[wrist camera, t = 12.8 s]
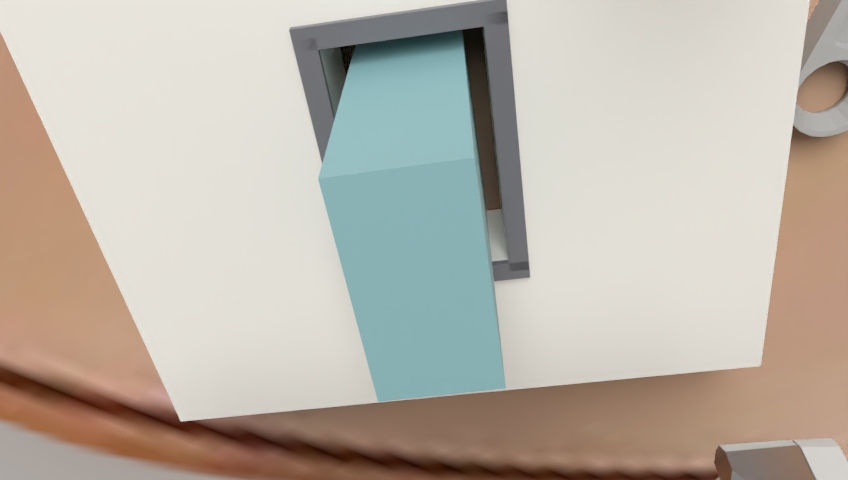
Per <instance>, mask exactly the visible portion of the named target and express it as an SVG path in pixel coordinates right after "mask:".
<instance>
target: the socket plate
mask: <svg viewBox="0 0 848 480" xmlns="http://www.w3.org/2000/svg"><path fill="white" fill-rule="evenodd" d="M809 3H810V0H0V32H1V34H2V36H3V38H4V40H5V43H6V45H7V47H8V49H9V51H10V53H11V56H12V58H13V60H14V62H15V64H16V66H17V69H18V71H19V73H20V75H21V77H22V79H23V81H24V84H25V86H26V88H27V90H28V92H29V94H30V97H31V99H32V101H33V103H34V105H35V107H36V110H37V112H38V114H39V116H40V118H41V120H42V123H43V125H44V127H45V129H46V131H47V133H48V135H49V138H50V140H51V142H52V144H53V146H54V148H55V151H56V153H57V155H58V157H59V159H60V161H61V164H62V166H63V168H64V170H65V172H66V174H67V177H68V179H69V181H70V183H71V185H72V187H73V190H74V192H75V194H76V196H77V198H78V200H79V202H80V205H81V207H82V209H83V211H84V213H85V215H86V218H87V220H88V222H89V224H90V226H91V228H92V231H93V233H94V235H95V237H96V239H97V241H98V244H99V246H100V248H101V250H102V252H103V254H104V256H105V259H106V261H107V263H108V265H109V267H110V269H111V272H112V274H113V276H114V278H115V280H116V282H117V285H118V287H119V289H120V291H121V293H122V295H123V298H124V300H125V302H126V304H127V306H128V308H129V311H130V313H131V315H132V317H133V319H134V321H135V323H136V326H137V328H138V330H139V332H140V334H141V336H142V339H143V341H144V343H145V345H146V347H147V349H148V352H149V354H150V356H151V358H152V360H153V362H154V365H155V367H156V369H157V371H158V373H159V375H160V377H161V380H162V382H163V384H164V386H165V388H166V390H167V393H168V395H169V397H170V399H171V401H172V403H173V406H174V408H175V410H176V412H177V414H178V416H179V419H180V421H191V420H201V419H212V418H222V417H232V416H243V415H253V414H264V413H274V412H285V411H295V410H306V409H316V408H327V407H337V406H348V405H358V404H369V403H379V402H378V400H377V396H376V392H375V388H374V385H373V381H372V377H371V374H370V370H369V366H368V362H367V359H366V355H365V351H364V348H363V344H362V340H361V336H360V333H359V329H358V325H357V322H356V318H355V314H354V310H353V307H352V303H351V299H350V296H349V292H348V288H347V284H346V281H345V277H344V273H343V270H342V266H341V262H340V258H339V255H338V251H337V247H336V244H335V240H334V236H333V232H332V229H331V225H330V221H329V218H328V214H327V210H326V206H325V203H324V199H323V195H322V192H321V188H320V184H319V180H318V177H319V174H320V170H321V166H322V163H323V159H324V156H325V152H326V148H327V145H328V141H329V138H330V134H331V130H332V127H333V123H334V120H335V116H336V112H337V109H338V105H339V102H340V98H341V95H342V91H343V87H344V84H345V80H346V72H345V68H344V63H343V58H342V53H341V49H340V47H342V46H349V45H356V44H363V43H370V42H378V41H385V40H392V39H399V38H406V37H413V36H420V35H427V34H434V33H441V32H448V31H456V30H463V29H470V28H477V27H482V34H483V43H484V53H485V62H486V72H487V81H488V91H489V100H490V110H491V119H492V129H493V138H494V148H495V157H496V167H497V176H498V186H499V195H500V205H501V209H495V210H486V213H487V222H488V231H489V240H490V249H491V258H492V268H493V277H494V286H495V295H496V304H497V313H498V322H499V331H500V340H501V349H502V358H503V368H504V377H505V386H506V388H505V389H496V390H486V391H477V392H467V393H458V394H448V395H439V396H429V397H420V398H410V399H421V398H431V397H442V396H452V395H463V394H473V393H484V392H494V391H505V390H515V389H526V388H536V387H546V386H557V385H567V384H578V383H588V382H599V381H609V380H620V379H630V378H641V377H651V376H662V375H672V374H683V373H693V372H703V371H714V370H724V369H735V368H745V367H756V366H761V359H762V352H763V345H764V337H765V330H766V322H767V315H768V307H769V300H770V293H771V285H772V278H773V270H774V263H775V255H776V248H777V241H778V233H779V226H780V218H781V211H782V203H783V196H784V189H785V181H786V174H787V166H788V159H789V151H790V144H791V137H792V129H793V122H794V114H795V107H796V99H797V92H798V85H799V77H800V70H801V62H802V55H803V47H804V40H805V33H806V25H807V18H808V10H809ZM410 399H400V400H410ZM400 400H391V401H400ZM381 402H389V401H381Z"/></svg>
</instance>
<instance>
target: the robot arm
mask: <svg viewBox="0 0 848 480" xmlns="http://www.w3.org/2000/svg"><path fill="white" fill-rule="evenodd" d="M714 463H715V466H716V469H717V472H718V475H719V478H717V479H716V480H848V460H847V458H846V457H845V455H844V453H843V451H842V449H841V448H840V446H839V444H838V443H837V442H836V441H834V440H833V439H832V438H821V439H806V440H793V441H791V440H780V441H767V442H755V443H742V444H729V445H719V446H718V448H717V450H716V454H715V462H714Z"/></svg>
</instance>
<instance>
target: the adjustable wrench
mask: <svg viewBox="0 0 848 480" xmlns="http://www.w3.org/2000/svg"><path fill="white" fill-rule="evenodd" d="M834 61H839V62H841V63H843V64H845V65H846V66H847V67H848V0H819V2H818V4H817V6H816V8H815V9H814V11H813V13H812V15H811V17H810V19H809V20H808V22H807V25H806V33H805V40H804V47H803V55H802V62H801V70H800V77H799V85H798V89H799V87H800V86H801V84H802V83H803V81H804V80H805V79H806V77H808V76H809V75H810V74H811V73H812V72H814V71H815V70H816V69H817V68H819V67H821V66H823V65H825V64H827V63H830V62H834ZM793 125H794V126H795V127H796V128H797V129H798V130H799V131H800V132H802V133H805V134H807V135H809V136H816V137H827V136H832V135H837V134H840V133H842V132H844V131H847V130H848V91H847V92H846V93H845V95H844V96H843V97H842V99H841V100H839V101H838V102H837V103H836V104H834V105H833V106H831V107H829V108H827V109H825V110H823V111H818V112H814V113H810V112H807V111H805V110H802V109H801V108H800V107H799V106H798V105H797V102H796V107H795V114H794V122H793Z"/></svg>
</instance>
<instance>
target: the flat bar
mask: <svg viewBox="0 0 848 480" xmlns="http://www.w3.org/2000/svg"><path fill="white" fill-rule="evenodd" d="M318 180H319V184H320V188H321V192H322V195H323V199H324V203H325V206H326V210H327V214H328V218H329V221H330V225H331V229H332V232H333V236H334V240H335V244H336V247H337V251H338V255H339V258H340V262H341V266H342V270H343V273H344V277H345V281H346V284H347V288H348V292H349V296H350V299H351V303H352V307H353V310H354V314H355V318H356V322H357V325H358V329H359V333H360V336H361V340H362V344H363V348H364V351H365V355H366V359H367V362H368V366H369V370H370V374H371V377H372V381H373V385H374V388H375V392H376V396H377V400H378V402H381V401H391V400H400V399H410V398H420V397H429V396H439V395H448V394H458V393H467V392H477V391H486V390H496V389H505V388H506V386H505V377H504V368H503V358H502V349H501V340H500V331H499V322H498V313H497V304H496V295H495V286H494V277H493V268H492V258H491V249H490V240H489V231H488V222H487V213H486V204H485V195H484V187H483V180H482V172H481V165H480V157H479V149H478V142H477V134H476V127H475V119H474V112H473V104H472V96H471V89H470V81H469V74H468V66H467V59H466V51H465V43H464V36H463V30H456V31H448V32H441V33H434V34H427V35H420V36H413V37H406V38H399V39H392V40H385V41H378V42H370V43H363V44H356V45H355V48H354V51H353V55H352V59H351V62H350V66H349V69H348V73H347V77H346V80H345V84H344V87H343V91H342V95H341V98H340V102H339V105H338V109H337V112H336V116H335V120H334V123H333V127H332V130H331V134H330V138H329V141H328V145H327V148H326V152H325V156H324V159H323V163H322V166H321V170H320V174H319V177H318Z"/></svg>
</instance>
